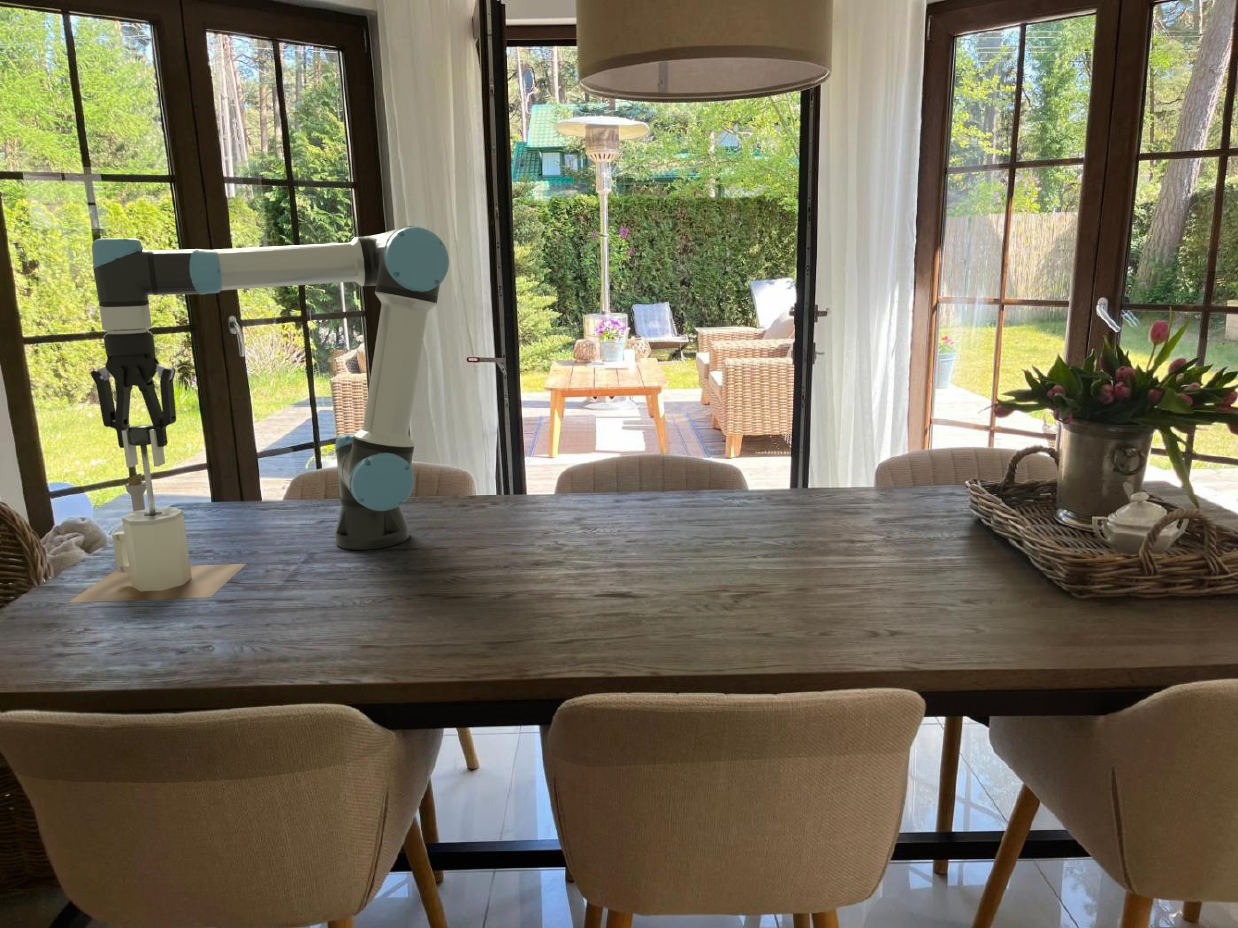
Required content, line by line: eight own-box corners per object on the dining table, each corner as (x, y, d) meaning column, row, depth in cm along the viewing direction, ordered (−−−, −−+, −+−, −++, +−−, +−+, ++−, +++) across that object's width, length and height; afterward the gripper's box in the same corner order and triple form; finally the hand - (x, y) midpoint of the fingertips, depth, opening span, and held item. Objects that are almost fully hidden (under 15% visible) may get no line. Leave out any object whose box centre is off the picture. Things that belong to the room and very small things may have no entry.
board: (247, 571, 174) (246, 563, 174) (211, 605, 157) (210, 597, 156) (119, 575, 173) (118, 568, 173) (68, 610, 156) (67, 602, 155)
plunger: (172, 532, 165) (157, 424, 160) (162, 539, 161) (147, 428, 156) (149, 533, 165) (134, 424, 160) (139, 540, 161) (123, 429, 156)
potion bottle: (150, 568, 177) (138, 479, 173) (111, 566, 179) (98, 477, 175) (180, 554, 185) (169, 468, 181) (142, 552, 187) (130, 467, 183)
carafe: (197, 572, 169) (189, 506, 166) (177, 589, 160) (167, 520, 158) (133, 575, 169) (124, 508, 166) (109, 592, 160) (99, 522, 157)
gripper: (187, 328, 159) (203, 459, 164) (88, 331, 158) (107, 462, 163) (169, 332, 152) (186, 468, 157) (64, 334, 151) (85, 471, 156)
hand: (146, 465), depth 160 cm, fingers closed on plunger, 4 cm apart
